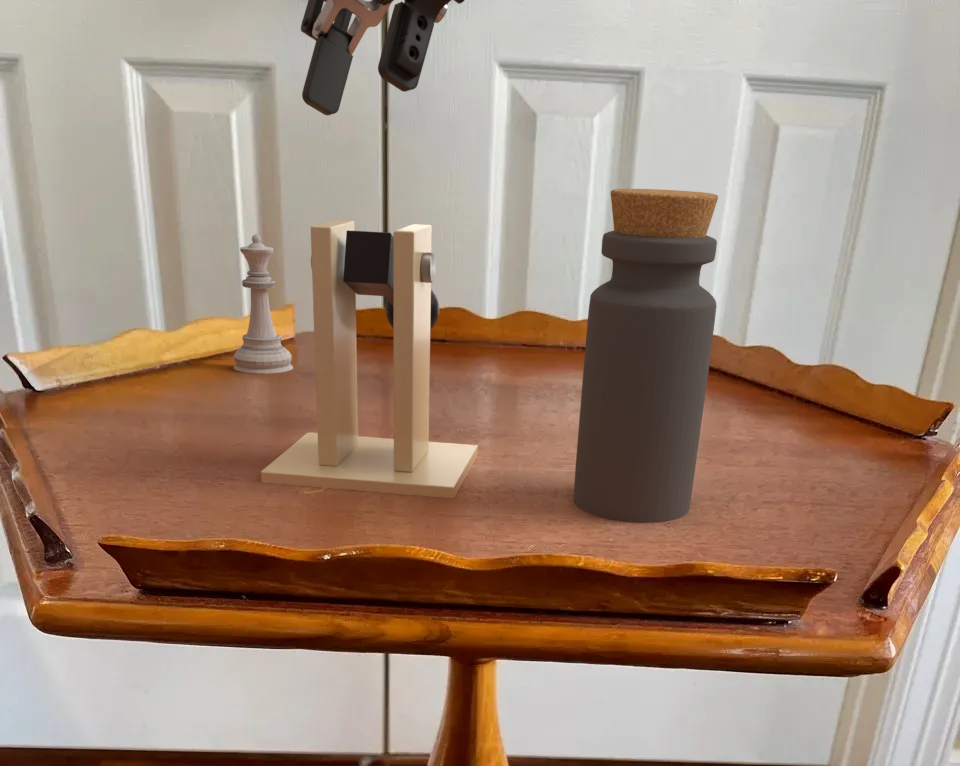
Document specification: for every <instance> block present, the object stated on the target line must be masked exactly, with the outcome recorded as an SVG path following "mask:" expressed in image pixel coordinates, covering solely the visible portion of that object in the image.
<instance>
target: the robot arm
mask: <svg viewBox="0 0 960 766" xmlns="http://www.w3.org/2000/svg"><path fill="white" fill-rule="evenodd" d="M394 1H395V0H368V1H367V0H307V3H306V7H305V11H304V14H303V18H302V20H301V25H300V32H302V33H303V34H304V35H306V36H307V37H309V38H311V39H312V40H314V41H315V43H314V47H313V51H312V54H311V59H310V63H309V67H308V70H307V73H306V77H305V81H304V85H303V88H302V93H301V96H302V100H303V102H304V103H305V105H307V106H309V107H311V108H313V109H314V110H316V111H317V112H319V113H321V114H322V115H324V116H331V115H335V114H337V113H338V112H339V110H340V106H341V103H342V98H343V94H344V91H345V88H346V85H347V80H348V77H349V73H350V69H351V65H352V61H353V58H354V55H353V54H354V53H355V51H356V48H357V47H358V45H359V43H360V42H361V40H362V38H363V37H364V35H365V33H366V31H367V30H368V29H369V28H375V27H378V25H379V24H380V23H381V22H382V20H383V19H384V16H385V15H386V13H387V12H388V10H389V8H390V6H391V5H392V2H394ZM451 1H452V0H403V1H400V2H398V3H396V4H394V6H393V10H392V13H391V17H390V21H389V24H388V28H387V32H386V36H385V39H384V42H383V43H384V44H383V46H382V50H381V54H380V57H379V61H378V66H377V71H378V74H379V77H380V78H381V79H383V80H384V81H386V82H387V83H388V84H390V85H392V86H393V87H395V88H396V89H398V90H400V91H401V92H404V93H406V92H409V91H412V90H415V89H416V88H417V87H418V85H419V81H420V77H421V74H422V71H423V66H424V63H425V60H426V56H427V52H428V48H429V45H430V42H431V37H432V34H433V31H434V27H435V24H439V23H440V22H441V21H442V20H443V19H444V18H445V16H446V13H447V12H448V8H449V3H450V2H451ZM453 1H454V2H455V3H456V4H457V5H459V4H463V2H465V0H453ZM324 2H325V3H324ZM353 15H354V16H355V17H354V19H353V20H352V16H353ZM351 21H352V22H351ZM350 23H351V24H350Z"/></svg>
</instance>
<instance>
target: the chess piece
mask: <svg viewBox="0 0 960 766" xmlns="http://www.w3.org/2000/svg"><path fill="white" fill-rule="evenodd" d="M239 252H241V254H242V256H243V257H244V258H245V260H246V262H247V265H248V269H249V270H248V271H247V274H246V275H248V276H246V277H245V278H244V279H242V280H241V286H242V287H243V288H247V289H250V313H249V314H250V315H249V321H248V328H247V332H246V334H243V335H242V341H243V344H242V345H241V346H240V347H239V348H238V349H236V351H235V352H234V355H233V361H234V362H235V363H234V365H233V370H235V371H237V372H239V373H245V374H253V375H254V374H255V375H272V374H281V373H287V372H290V371H294V366H293V364H292V363H291V362H292V360H293V356H292V354H291V352H290V351H289V350H288V349H287V348H286V347H284V346H283V345H282V343H281V341H282V336H281V335H280V334H277V332H276V328H275V327H274V322H273V318H272V314H271V308H270V300H269V299H270V298H269V290H268V289H274V288H275V287H276V280H274V279H272V277H270V271H269V270H268V263H269V260H270V258H271V256H272V255H273V253H274V252H275V251H274V248H273V247H271V246H266V245H264V243H262V237H261V236H260V235H259V234H253V235H252V236H251V242H250V244H248V245H247V246H241V247H240V248H239Z"/></svg>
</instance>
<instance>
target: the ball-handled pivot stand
mask: <svg viewBox="0 0 960 766" xmlns="http://www.w3.org/2000/svg"><path fill="white" fill-rule="evenodd" d="M355 224H356V223H355V221H354V220H343V219H342V220H341V219H335V220H331V221H328V222H323V223H319V224H315V225H311V226H310V249H311V250H310V251H311V254H310V268H311V282H312V310H313V337H314V339H313V340H314V370H315V371H314V372H315V392H316V393H315V397H316V399H315V400H316V401H315V402H316V428H317V431H316V432H308V431H307V432H306V433H305V434H304V435H303V436H301V437H300V438H299V439H298V440H297V441H296V442H294V443H293V444H292V445H291V446H289V447H288V448H287V449H285V451H284V452H282V453H281V454H280V455H279V456H278V457H277V458H275V459H274V460H273V461H271V463H269V464H268V465H267V466H265V467H264V468H263V469H262V470H261V471H260V482H261V483H262V484H275V485H285V486H297V487H309V488H321V489H333V490H334V489H335V490H346V491H358V492H370V493H379V494H380V493H382V494H395V495H404V496H405V495H406V496H418V497H429V498H439V499H440V498H442V499H455V497H456V496H457V493H458V492H459V491H460V488H461V487H462V484H463V483H464V481H465V479H466V477H468V474H469V472H470V470H471V469H472V467H473V465H474V464H475V461H476V459H477V457H478V455H479V446H478V445H477V444H467V443H453V442H452V443H451V442H439V441H430V440H429V439H430V438H429V437H430V436H429V435H430V379H431V378H430V377H431V376H430V375H431V374H430V372H431V371H430V369H431V330H430V314H431V289H432V283H434V281H435V277H436V255H435V253H434V252H432V241H433V240H432V239H433V238H432V234H433V226H432V225H431V224H421V223H413V224H410V225H407V226H405V227H404V226H403V227H402V228H398V229H395V230H393V237H394V329H393V438H390V437H389V438H386V437H373V436H362V435H361V436H360V435H359V418H358V417H359V416H358V415H359V414H358V412H359V411H358V410H359V409H358V356H357V355H358V354H357V353H358V352H357V294H356V293H355V292H354V291H353V290H352V289H351V288H350V287H349V286H348V285H347V284H346V283H345V282H344V281H343V276H344V262H345V247H346V233H347V230H349V231H356V228H355Z"/></svg>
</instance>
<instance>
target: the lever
mask: <svg viewBox="0 0 960 766" xmlns="http://www.w3.org/2000/svg"><path fill="white" fill-rule="evenodd" d="M343 281H344V282H345V283H346V284H347V285H348V286H349V287H350V288H351V289H352V290H353V291H354V292H355V293H356V295H358V296H374V297H376V296H377V297H384V298H385V305H384V308H385V309H384V310H385V316H386V319H387V323H388V325H390V327H391V328H392V329H393V330H394V234H392V232H386V231H385V232H384V231H367V230H366V231H365V230H355V231H349V230H347V233H346V247H345V262H344V276H343ZM439 316H440V303H439V299H438V296H437V294H436V293H435V291H434V290H433V288H431V314H430V331H431V330H432V329H433V328H434V327H435V326H436V324H437V322H438V320H439Z"/></svg>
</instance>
